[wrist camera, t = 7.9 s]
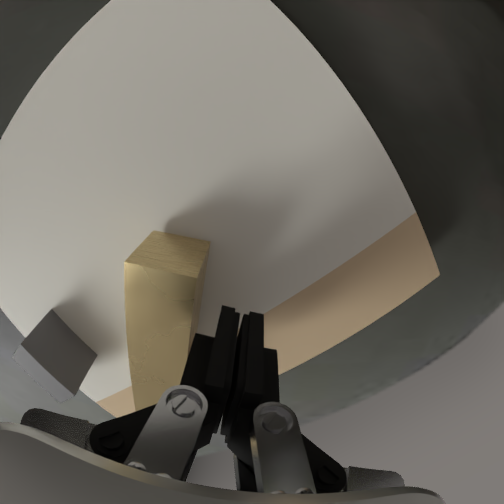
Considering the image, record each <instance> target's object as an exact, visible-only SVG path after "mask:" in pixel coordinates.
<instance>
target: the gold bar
mask: <svg viewBox="0 0 504 504" xmlns="http://www.w3.org/2000/svg"><path fill="white" fill-rule="evenodd" d="M210 243H211V241H206V240H201V239H196V238H191V237H185V236H180V235H175V234H170V233H165V232H160V231H155V230H153V231H152V232H151V233H150V234H149V236H148V237H147V238H146V239H145V240H144V241H143V242H142V243H141V244H140V245H139V246H138V247H137V248H136V249H135V250H134V252H133V253H132V254H131V255H130V256H129V257H128V258H127V259H126V260H125V261H124V295H125V320H126V335H127V348H128V358H129V368H130V376H131V384H132V391H133V398H134V404H135V411H138V410H141V409H144V408H146V407H149V406H152V405H154V404H157V403H158V401H159V399H160V398H161V396H162V394H163V393H164V392H165V391H166V390H167V389H168V388H170V387H172V386H176V385H180V382H181V378H182V375H183V372H184V368H185V365H186V362H187V358H188V355H189V352H190V348H191V345H192V342H193V339H194V336H195V333H197V329H198V321H199V314H200V307H201V300H202V293H203V287H204V280H205V274H206V267H207V261H208V255H209V249H210Z"/></svg>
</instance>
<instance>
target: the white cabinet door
mask: <svg viewBox="0 0 504 504" xmlns="http://www.w3.org/2000/svg"><path fill="white" fill-rule="evenodd" d="M153 230H155V231H160V232H165V233H170V234H175V235H180V236H185V237H191V238H196V239H201V240H206V241H211V243H210V249H209V255H208V261H207V267H206V274H205V280H204V287H203V293H202V300H201V307H200V314H199V321H198V329H197V333H198V334H203V335H207V336H211V337H215V334H216V329H217V325H218V320H219V316H220V312H221V307H222V305H224V306H228V307H233V308H235V312H238V313H240V318H239V326H238V333H239V329H240V325H241V322H242V318H243V315H244V314H248V315H249V312H250V311H251V312H256V313H261V314H264V348H270V349H276V350H277V355H278V375H280V374H282V373H284V372H286V371H288V370H290V369H292V368H294V367H296V366H298V365H300V364H302V363H303V362H305V361H307V360H309V359H311V358H313V357H315V356H317V355H318V354H320V353H322V352H324V351H326V350H327V349H329V348H331V347H333V346H335V345H336V344H338V343H340V342H341V341H343V340H345V339H347V338H348V337H350V336H352V335H353V334H355V333H357V332H358V331H360V330H361V329H363V328H365V327H366V326H368V325H369V324H371V323H373V322H374V321H376V320H377V319H379V318H380V317H382V316H383V315H385V314H386V313H388V312H389V311H391V310H392V309H394V308H395V307H397V306H398V305H400V304H401V303H403V302H404V301H405V300H407V299H408V298H410V297H411V296H412V295H414V294H415V293H417V292H418V291H419V290H421V289H422V288H423V287H425V286H426V285H427V284H429V283H430V282H431V281H433V280H434V279H435V278H437V277H438V276H439V275H440V273H439V270H438V267H437V264H436V261H435V258H434V256H433V253H432V250H431V247H430V245H429V242H428V240H427V237H426V235H425V232H424V230H423V227H422V225H421V222H420V220H419V218H418V215H417V213H416V211H415V209H414V206H413V204H412V202H411V200H410V198H409V195H408V193H407V191H406V189H405V187H404V185H403V183H402V181H401V179H400V177H399V175H398V173H397V171H396V169H395V167H394V166H393V164H392V162H391V160H390V158H389V156H388V154H387V153H386V151H385V149H384V147H383V146H382V144H381V142H380V140H379V139H378V137H377V135H376V134H375V132H374V130H373V129H372V127H371V125H370V124H369V122H368V121H367V119H366V117H365V116H364V114H363V113H362V111H361V110H360V108H359V107H358V105H357V104H356V102H355V101H354V99H353V98H352V96H351V95H350V93H349V92H348V91H347V89H346V88H345V86H344V85H343V84H342V82H341V81H340V80H339V78H338V77H337V76H336V74H335V73H334V72H333V70H332V69H331V68H330V66H329V65H328V64H327V63H326V61H325V60H324V59H323V58H322V56H321V55H320V54H319V53H318V51H317V50H316V49H315V48H314V47H313V45H312V44H311V43H310V42H309V41H308V40H307V38H306V37H305V36H304V35H303V34H302V33H301V32H300V31H299V29H298V28H297V27H296V26H295V25H294V24H293V23H292V22H291V21H290V20H289V19H288V18H287V17H286V16H285V15H284V14H283V13H282V12H281V11H280V10H279V9H278V8H277V7H276V6H275V5H274V4H273V3H272V2H271V1H270V0H111V1H110V2H109V3H108V4H106V5H105V6H104V7H103V8H102V9H101V10H100V11H99V12H98V13H96V14H95V15H94V16H93V17H92V18H91V19H90V20H89V21H88V22H87V23H86V24H85V25H84V26H83V27H82V28H81V29H80V30H79V31H78V32H77V33H76V34H75V35H74V36H73V38H72V39H71V40H70V41H69V42H68V43H67V44H66V45H65V46H64V48H63V49H62V50H61V51H60V52H59V53H58V55H57V56H56V57H55V58H54V59H53V61H52V62H51V63H50V64H49V66H48V67H47V68H46V69H45V71H44V72H43V73H42V75H41V76H40V77H39V79H38V80H37V81H36V83H35V84H34V86H33V87H32V89H31V90H30V91H29V93H28V94H27V96H26V97H25V99H24V100H23V102H22V103H21V105H20V107H19V108H18V110H17V111H16V113H15V115H14V116H13V118H12V120H11V122H10V123H9V125H8V127H7V129H6V130H5V132H4V134H3V136H2V138H1V140H0V308H1V309H2V311H3V312H4V313H5V315H6V316H7V317H8V318H9V319H10V321H11V322H12V323H13V324H14V325H15V326H16V328H17V329H18V330H19V331H20V332H21V333H22V334H23V336H24V337H25V339H24V341H23V342H22V343H21V344H20V346H19V347H18V349H17V350H16V352H15V353H14V355H13V356H12V359H13V360H14V361H15V362H16V363H17V364H18V365H19V366H20V367H21V368H22V369H23V370H24V371H25V372H26V373H27V374H28V375H29V376H30V377H31V378H32V379H33V380H34V381H35V382H36V383H38V384H39V385H40V386H41V387H42V388H43V389H44V390H45V391H46V392H48V393H49V394H50V395H51V396H52V397H53V398H54V399H56V400H57V401H58V402H59V403H60V404H61V403H63V402H64V401H66V400H68V399H70V398H72V397H74V396H75V395H76V393H77V391H78V389H80V390H81V391H82V392H83V393H85V394H86V395H87V396H88V397H90V398H91V399H92V400H93V401H95V402H96V403H97V404H98V405H100V406H101V407H102V408H104V409H105V410H107V411H108V412H109V413H111V414H112V415H113V416H115V417H116V418H118V417H121V416H124V415H127V414H130V413H133V412H135V404H134V398H133V391H132V384H131V376H130V368H129V358H128V348H127V335H126V320H125V295H124V261H125V260H126V259H127V258H128V257H129V256H130V255H131V254H132V253H133V252H134V250H135V249H136V248H137V247H138V246H139V245H140V244H141V243H142V242H143V241H144V240H145V239H146V238H147V237H148V236H149V234H150V233H151V232H152V231H153ZM237 336H238V335H237Z"/></svg>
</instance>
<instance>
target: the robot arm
mask: <svg viewBox="0 0 504 504" xmlns="http://www.w3.org/2000/svg"><path fill="white" fill-rule="evenodd" d="M239 318H240V313H238V312H235V308H233V307H228V306H224V305H222V307H221V312H220V316H219V320H218V325H217V329H216V334H215V337H211V336H207V335H203V334H198V333H195V336H194V339H193V342H192V345H191V348H190V352H189V355H188V358H187V362H186V365H185V368H184V372H183V375H182V378H181V382H180V385H176V386H172V387H170V388H168V389H167V390H166V391H165V392H164V393H163V394H162V396H161V398H160V399H159V401H158V403H157V404H154V405H152V406H149V407H146V408H144V409H141V410H138V411H135V412H133V413H130V414H127V415H124V416H121V417H118V418H115V419H112V420H109V421H106V422H103V423H100V424H98V425H96V424H91V423H89V422H88V421H87V420H82V419H78V418H73V417H69V416H65V415H61V414H57V413H53V412H50V411H46V410H43V409H37V408H34V409H30V410H28V411H27V412H26V413H25V414H24V415H23V417H22V420H21V423H20V424H17V423H10V422H0V504H446V503H445V502H444V500H443V499H442V497H440V495H439V494H437V493H435V492H433V491H430V490H427V489H423V488H419V487H409V486H405V485H404V480H403V478H402V477H401V475H399V474H398V473H396V472H392V471H384V470H374V469H365V468H358V467H351V466H349V467H348V468H343V467H342V466H341V465H340V464H339V463H338V462H336V461H335V460H334V459H332V458H331V457H330V456H329V455H327V454H326V453H325V452H323V451H322V450H321V449H320V448H318V447H317V446H316V445H315V444H313V443H312V442H311V441H310V440H309V439H307V438H306V437H305V436H304V435H303V434H301V432H300V427H299V424H298V420H297V417H296V415H295V413H294V412H293V411H292V410H291V409H290V408H289V407H287V406H286V405H284V404H281V403H280V402H279V377H278V355H277V350H276V349H270V348H264V314H261V313H256V312H251V311H250V312H249V315H248V314H244V315H243V318H242V322H241V325H240V329H239V333H238V326H239ZM237 335H238V336H237ZM222 415H223V418H222ZM221 418H222V425H221V435H226V436H225V443H228V444H227V447H228V448H229V449H230V450H231V451H232V452H233V453H234V468H235V478H236V487H237V491H236V490H228V489H221V488H215V487H209V486H203V485H198V484H192V483H188V482H186V479H187V477H188V474H189V472H190V469H191V467H192V464H193V461H194V459H195V456H196V454H197V451H198V449H200V448H202V447H203V446H205V445H207V444H209V443H210V440H211V437H212V434H213V433H217V430H218V427H219V424H220V421H221Z"/></svg>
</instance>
